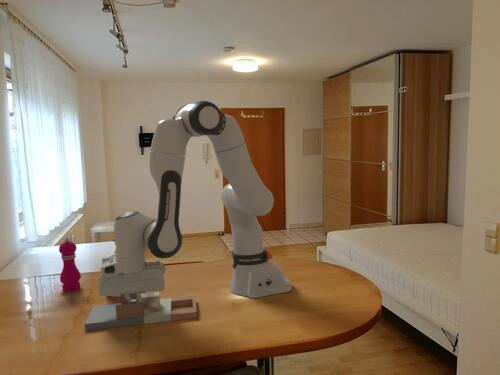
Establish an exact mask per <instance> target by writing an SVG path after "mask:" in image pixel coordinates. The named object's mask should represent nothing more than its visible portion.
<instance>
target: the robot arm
mask: <svg viewBox="0 0 500 375" xmlns="http://www.w3.org/2000/svg"><path fill="white" fill-rule="evenodd" d="M152 136H153V137H152V140H151V145H150V150H149V151H150V152H149V161H148V162H149V163H148V164H149V173H150V175H151V177H152V179H153V180H154V183H155V185H156V187H157V190H158V201H157V202H158V204H157V214H156V216H157V217H156V218H155V217H151V216H149V215H146V214H144V213H141V212H140V211H138V210H132V211H130V210H129V211H125V212H124V213H121V214H119V215H118V216H116V218H115V219H114V224H113V238H114V239H113V240H114V245H115V248H116V250H115V253H116V258H114V259H112V260H109V261H107V262H105V263H104V264H103V263H102V266H101V267H100V273H101V274H100V276H99V277H98V285H97V290H98V292H97V293H98V295H99V296H100V297H109V296H110V295H120V294H124V295H125V298H126V300H127V301H128V302H129V304H132V303H139V302H138V300H139V298H140V296H141V293H142V292H146V293H153V292H162V291H163V290H164V289H166V278H165V273H166V265H165V263H163V262H161V261H159V260H157V261H146V250H149V251H150V253H151V254H152V255H153V256H155V257H156V258H158V259H164V260H165V259H168V258H172V257H173V256H175V255H176V254H178V253H179V251H180V250H181V247H182V244H183V236H182V233H181V228H180V224H179V223H180V222H179V221H180V220H179V218H180V205H181V196H182V194H181V193H182V190H181V189H182V180H183V174H184V168H185V161H186V154H187V146H188V143H189V141H190V139H191V138H192V137H196V138H197V137H198V138H199V137H204V136H206V137H208V139H209V141H211V142H210V143H212V147H213V152H214V154H215V157H216V160H217V163H218V165H219V170H220V172H221V175H223V177H225V179H226V180H227V181H228V183H227V184H226V185H225V186H224V187H223V188H222V189H221V190H222V191H221V194H220V199H221V202H222V203H223V205H224V206H225V209H226V213H227V216H228V220H229V224H230V229H231V237H232V238H231V240H232V251H231V266H232V276H231V278H232V279H231V283H230V287H229V290H230V292H231V293H232V294H235V295H237V296H243V297H248V298H251V299H257V298H263V297H268V296H273V295H277V294H283V293H288V292H291V291H292V289H293V286H292V283H291V282H290V281H289V280H288V279H287V278H286V277H285V273H284V271H283V269H282V268H281V267H280V266H279V265H278V264H276V263H275V262H274V261H271V259H273V254H272V253H271V252H269V251H268V250H267V249H264V238H263V237H264V232H263V228H262V226H261V224H260V223H259V221H258V218H257V217H261V216H266V215H267V214H269V213H270V212H271V210H272V209H273V207H274V201H275V200H274V195H273V193H272V192H271V190H270V189H268V187H266V185H265V184H264V182H263V181H262V179H261V177H260V175H259V174H258V172H257V170H256V169H255V166H254V164H253V162H252V160H251V156H250V153H249V150H248V147H247V143H246V140H245V137H244V134H243V132H242V130H241V128H240V125H239V124H238V121H237V119H236V118H235V117H234V116H232V115H230V114H224V113H223V112H222V111H221V110H220V108H219V107H218V105H216V104H215V103H213V102H211V101H208V100H200V101H193V102H190V103H188V104H185V105H183V106H182V107H180V108H179V109H178V110H177V111H176V112H175V114H174V115H173V117H172V118H164V119H161V120H160V121H159V122H157V125H156V127H155V129H154V131H153V135H152ZM131 293H136V296H137V298H136V299H132V300H131V298H130V297H129V295H130V294H131Z"/></svg>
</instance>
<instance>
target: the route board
mask: <svg viewBox="0 0 500 375" xmlns="http://www.w3.org/2000/svg"><path fill="white" fill-rule="evenodd" d="M143 293H147V292H142V293H141V294H143ZM129 297H130V298H131V300H132V299H136V298H137V296H136V293H131V294H130V295H129ZM138 302H139V300H138ZM181 306H182V307H183V306H184V307H185V306H192V308H189V309H179V310H172V308H174V307H175V308H176V307H181ZM197 312H198V310H197V302H196V295H189V296H181V297H180V296H178V297H170V298H160V310H159V311H158V312H148V313H144V306H143V302H142V303H132V304H129V302H128V301H127V300H126V298H125V295H124V294H120V302H119V303H113V304H112V303H111V304H102V305H93V307H92V308H91V311H90V312H89V314H88V316H87V318H86V320H85V322H84V331H93V330H101V329H109V328H117V327H118V328H120V327H128V326H135V325H136V326H137V325H146V324H154V323H162V322H163V323H165V322H171V321H172V322H173V321H179V320H180V321H181V320H182V321H183V320H190V319H197V318H198V313H197Z"/></svg>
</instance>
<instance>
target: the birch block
mask: <svg viewBox="0 0 500 375" xmlns="http://www.w3.org/2000/svg"><path fill="white" fill-rule="evenodd" d="M160 299H161V295H160V291H153V292H146V293H143V294H141V296H140V298H139V303H142V302H143V306H144V313H148V312H158V311H159V310H160Z"/></svg>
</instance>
